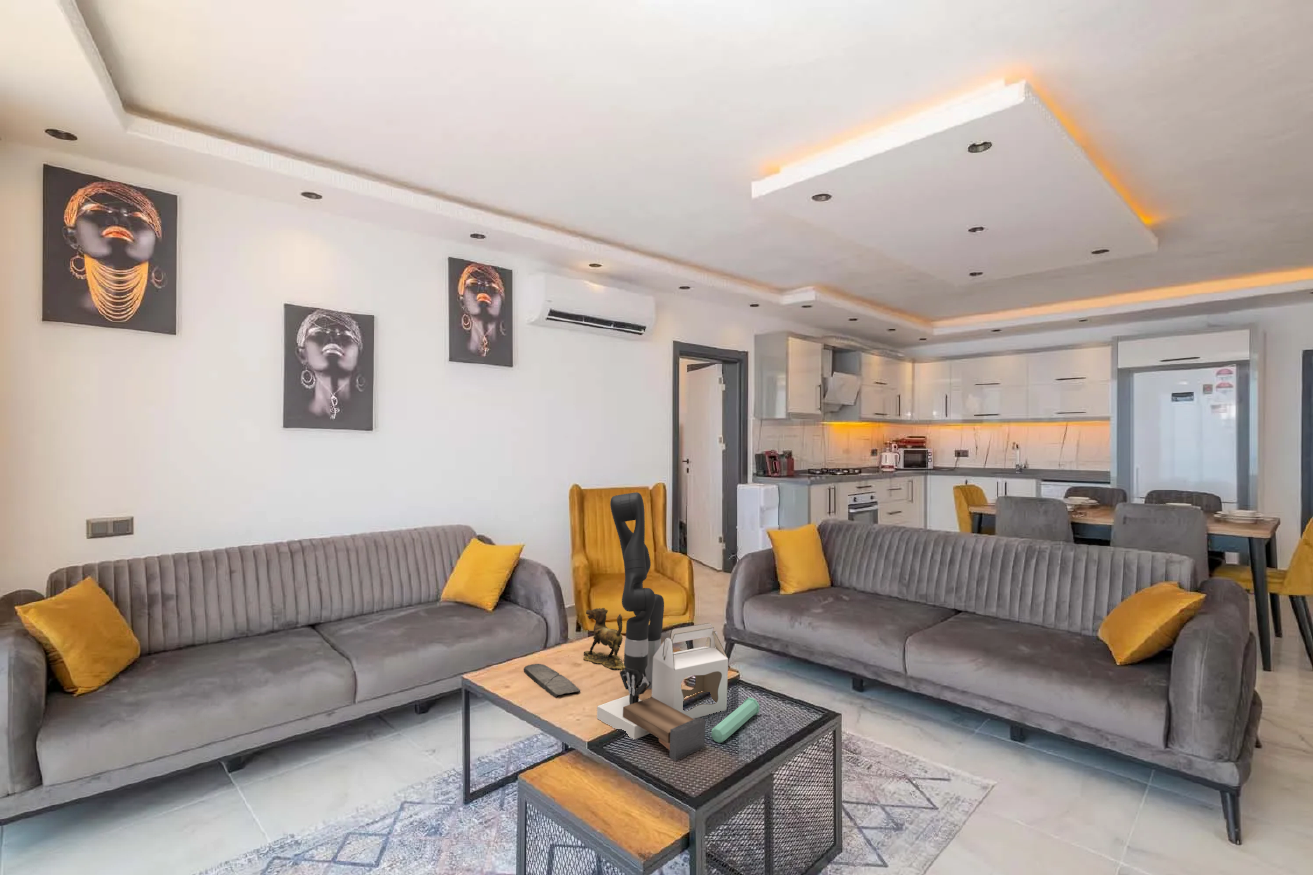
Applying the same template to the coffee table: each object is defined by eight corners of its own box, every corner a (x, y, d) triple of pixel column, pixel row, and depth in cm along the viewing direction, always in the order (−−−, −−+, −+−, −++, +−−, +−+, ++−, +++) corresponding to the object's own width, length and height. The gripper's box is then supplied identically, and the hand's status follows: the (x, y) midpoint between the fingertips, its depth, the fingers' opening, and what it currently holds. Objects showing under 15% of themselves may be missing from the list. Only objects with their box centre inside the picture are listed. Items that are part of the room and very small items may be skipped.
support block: (672, 738, 189) (673, 725, 189) (683, 746, 184) (684, 733, 184) (658, 741, 187) (659, 729, 187) (669, 750, 182) (670, 737, 182)
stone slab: (545, 660, 244) (582, 684, 219) (545, 669, 244) (582, 694, 219) (520, 666, 238) (555, 691, 213) (520, 674, 238) (555, 700, 213)
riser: (629, 706, 210) (630, 694, 210) (667, 725, 197) (667, 713, 197) (596, 718, 200) (597, 705, 200) (634, 739, 187) (634, 726, 187)
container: (721, 725, 186) (756, 695, 207) (705, 727, 189) (741, 698, 210) (727, 745, 185) (762, 714, 205) (711, 747, 188) (747, 716, 209)
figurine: (599, 649, 264) (601, 601, 264) (638, 667, 245) (640, 615, 245) (574, 655, 255) (576, 606, 255) (612, 674, 237) (614, 621, 236)
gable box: (672, 724, 198) (675, 636, 198) (650, 708, 209) (653, 624, 209) (727, 710, 210) (730, 626, 209) (704, 695, 221) (706, 616, 221)
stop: (698, 743, 186) (699, 717, 186) (704, 747, 184) (705, 720, 184) (669, 757, 178) (670, 729, 178) (675, 760, 176) (676, 732, 176)
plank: (651, 706, 201) (651, 696, 201) (696, 730, 186) (697, 720, 186) (622, 716, 193) (623, 707, 193) (667, 743, 178) (668, 732, 178)
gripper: (613, 647, 200) (611, 701, 200) (641, 660, 190) (638, 716, 191) (631, 642, 205) (629, 694, 205) (659, 654, 195) (656, 709, 196)
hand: (633, 705), depth 198 cm, fingers closed
